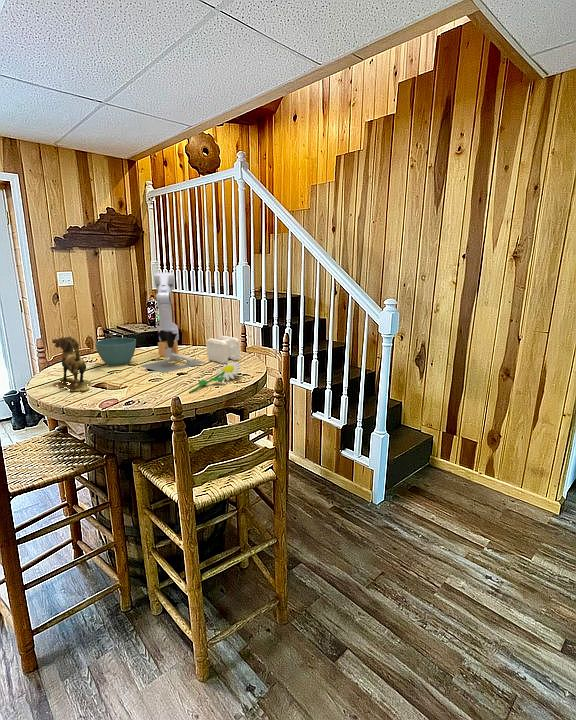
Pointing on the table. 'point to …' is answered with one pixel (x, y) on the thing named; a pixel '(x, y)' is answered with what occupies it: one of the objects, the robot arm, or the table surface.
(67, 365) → the figurine
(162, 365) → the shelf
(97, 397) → the table surface
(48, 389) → the table surface
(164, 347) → the orange arch block
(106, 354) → the plant pot
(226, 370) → the decorative flower
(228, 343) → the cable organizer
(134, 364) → the table surface
